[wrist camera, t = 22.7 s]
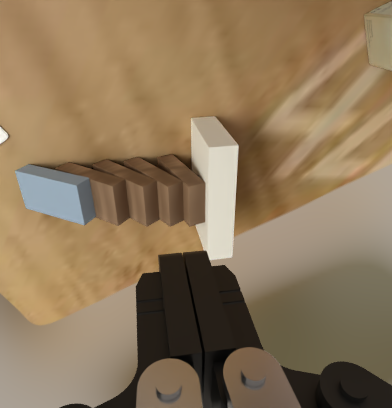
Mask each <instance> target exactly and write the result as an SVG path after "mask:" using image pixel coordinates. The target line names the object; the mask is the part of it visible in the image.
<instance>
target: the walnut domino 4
mask: <svg viewBox="0 0 392 408" xmlns="http://www.w3.org/2000/svg"><path fill="white" fill-rule="evenodd" d="M157 160H158V168H159V169H161V170H163V171H165V172H167V173H169V174H170V175H172V176H174V177H176V178H178V179H180V180H181V181H183V205H184V221H185V222H186V223H187V224H188V225H189V227H190V226H193V225H197V224H200V223H204V222H205V191H206V183H205V182H204V181H203V180H202V179H201V178H199V177H198V176H197V175H196V174H195V173H194V172H192V171H191V170H190V169H189V168H188V167H187V166H185V165H184V164H183V163H182V162H181V161H179V160H178V159H177V158H176V157H175V156H174V155H172V154H170V155H165V156H160V157H157Z"/></svg>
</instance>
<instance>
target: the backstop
mask: <svg viewBox="0 0 392 408" xmlns="http://www.w3.org/2000/svg"><path fill="white" fill-rule="evenodd" d="M238 148H239V145H238V144H237V143H236V141H235V140H234V139H233V138H232V136H231V135H230V134H229V133H228V132H227V130H226V129H225V128H224V127H223V125H222V124H221V123H220V122H219V120H218V119H217V118H216V117H215V116H212V117H196V118H191V155H192V172H194V173H195V174H196V175H197V176H198V177H199V178H201V179H202V180H203V181H204V182H205V183H206V191H205V222H204V223H200V224H197V225H196V228H197V231H198V234H199V237H200V240H201V243H202V246H203V249H204V251H205V250H206V251H207V253H208V257H209V260H215V259H223V258H231V257H232V252H233V236H234V218H235V201H236V183H237V165H238Z"/></svg>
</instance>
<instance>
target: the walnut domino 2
mask: <svg viewBox="0 0 392 408" xmlns="http://www.w3.org/2000/svg"><path fill="white" fill-rule="evenodd" d="M93 170H97V171H100V172H103V173H107V174H110V175H113V176H117V177H120V178H123V179H125V181H126V190H127V198H128V206H129V214H130V218H131V219H133V220H135V221H137V222H139V223H141V224H142V225H144V226H146V227H147V226H149V225H151V224H152V223H154V222H156V221H158V220H159V219H160V218H159V204H158V190H157V180H154V179H152V178H150V177H147V176H145V175H142V174H140V173H138V172H135V171H133V170H131V169H128V168H126V167H123V166H121V165H119V164H116V163H114V162H112V161H109V160H107V159H106V160H103V161H100V162H98V163H95V164H93Z"/></svg>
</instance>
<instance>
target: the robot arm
mask: <svg viewBox="0 0 392 408" xmlns="http://www.w3.org/2000/svg"><path fill="white" fill-rule="evenodd" d="M158 259H159V272H153V273H144V274H142V276H141V278H140V280H139V282H138V284H137V286H136V306H137V307H136V308H137V346H138V368H137V371H136V374H135V377H134V379H133V380H132V382H131V383H130V385H129V386H128V387H127V388H126V389H125V390H124V391H123V392H122V393H121V394H119V395H118V396H116V397H114V398H113V399H111V400H109V401H107V402H105V403H103V404H101V405H99V406H97V407H95V408H202V405H203V408H392V386H391V385H390V384H388V383H387V382H385V381H383V380H382V379H380V378H379V377H377V376H375V375H374V374H372V373H370V372H369V371H367V370H366V369H364V368H362V367H360V366H358V365H356V364H353V363H349V362H334V363H331V364H329V365H328V366H326V367H325V368H324V370H323V371H322V373H321V375H318V374H312V373H306V372H301V371H295V370H291V369H288V368H285V367H283V366H281V365H280V364H279V363H278V361H277V360H276V359H275V358H274V357H273V356H272V355H271V354H269V353H268V352H266V351H264V349H263V347H262V345H261V343H260V340H259V337H258V335H257V332H256V330H255V327H254V324H253V321H252V319H251V316H250V313H249V311H248V308H247V306H246V303H245V301H244V298H243V295H242V292H241V291H240V287H239V284H238V282H237V279H236V277H235V275H234V274H233V273H232V272H231V271H230V270H229V269H228V268H227V267H226V266H225V265H221V266H211V263H210V260H209V257H208V253H207V251H206V250H205V251H195V252H185V253H183V256H182V253H173V254H163V255H158ZM60 408H91V407H89V406H87V405H84V404H69V405H65V406H63V407H60Z"/></svg>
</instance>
